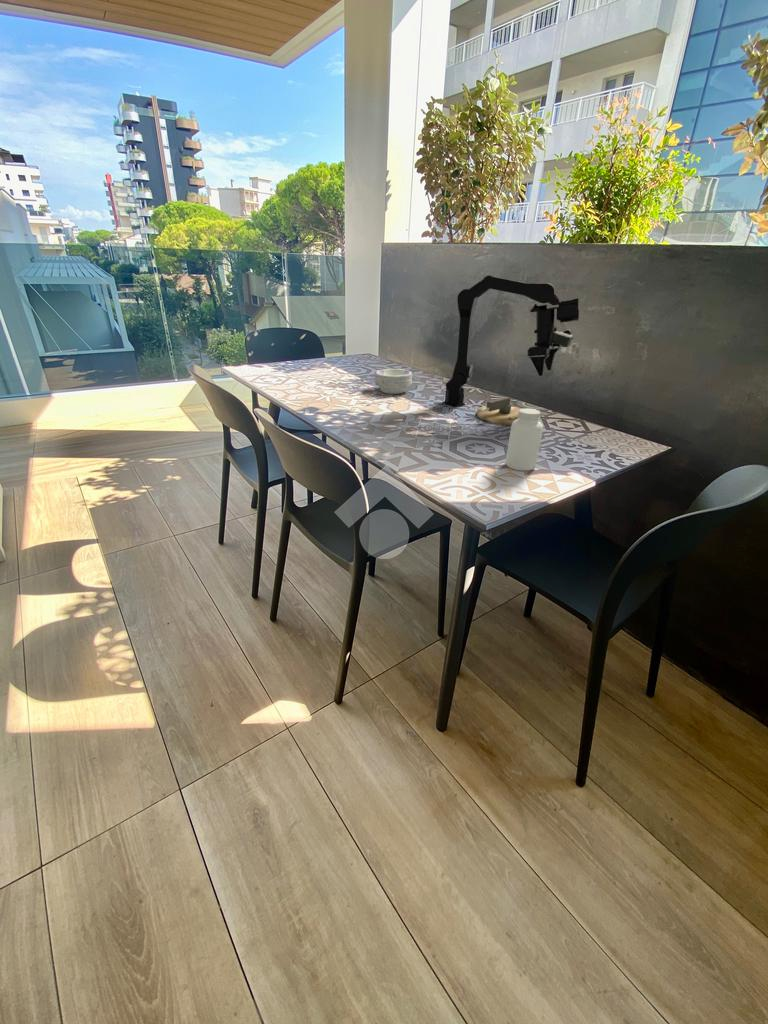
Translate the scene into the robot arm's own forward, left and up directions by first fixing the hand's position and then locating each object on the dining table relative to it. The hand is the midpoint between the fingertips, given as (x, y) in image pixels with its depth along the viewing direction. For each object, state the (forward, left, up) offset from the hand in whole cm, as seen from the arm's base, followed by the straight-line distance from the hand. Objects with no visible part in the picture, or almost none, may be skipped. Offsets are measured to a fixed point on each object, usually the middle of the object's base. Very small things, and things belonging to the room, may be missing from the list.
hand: (545, 372), depth 156 cm
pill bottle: (+24, -46, -15) cm, 54 cm away
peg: (-6, -18, -13) cm, 23 cm away
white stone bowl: (-55, -21, -15) cm, 61 cm away
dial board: (-6, -12, -15) cm, 20 cm away
